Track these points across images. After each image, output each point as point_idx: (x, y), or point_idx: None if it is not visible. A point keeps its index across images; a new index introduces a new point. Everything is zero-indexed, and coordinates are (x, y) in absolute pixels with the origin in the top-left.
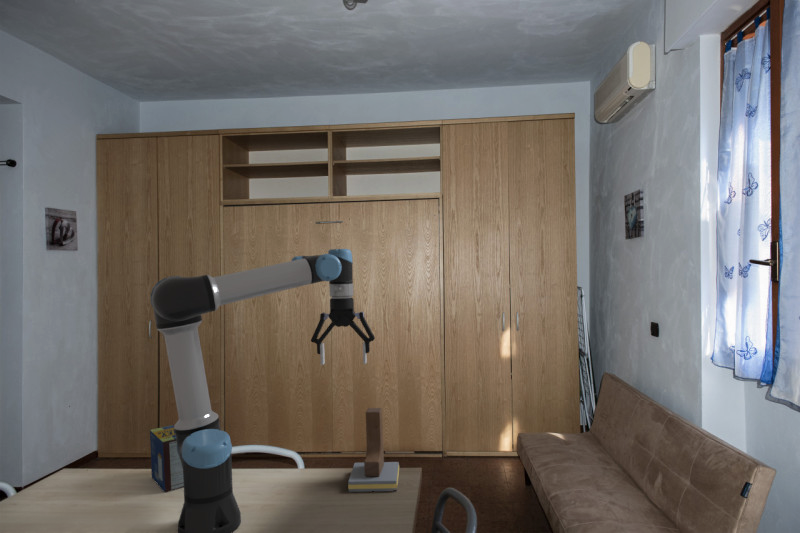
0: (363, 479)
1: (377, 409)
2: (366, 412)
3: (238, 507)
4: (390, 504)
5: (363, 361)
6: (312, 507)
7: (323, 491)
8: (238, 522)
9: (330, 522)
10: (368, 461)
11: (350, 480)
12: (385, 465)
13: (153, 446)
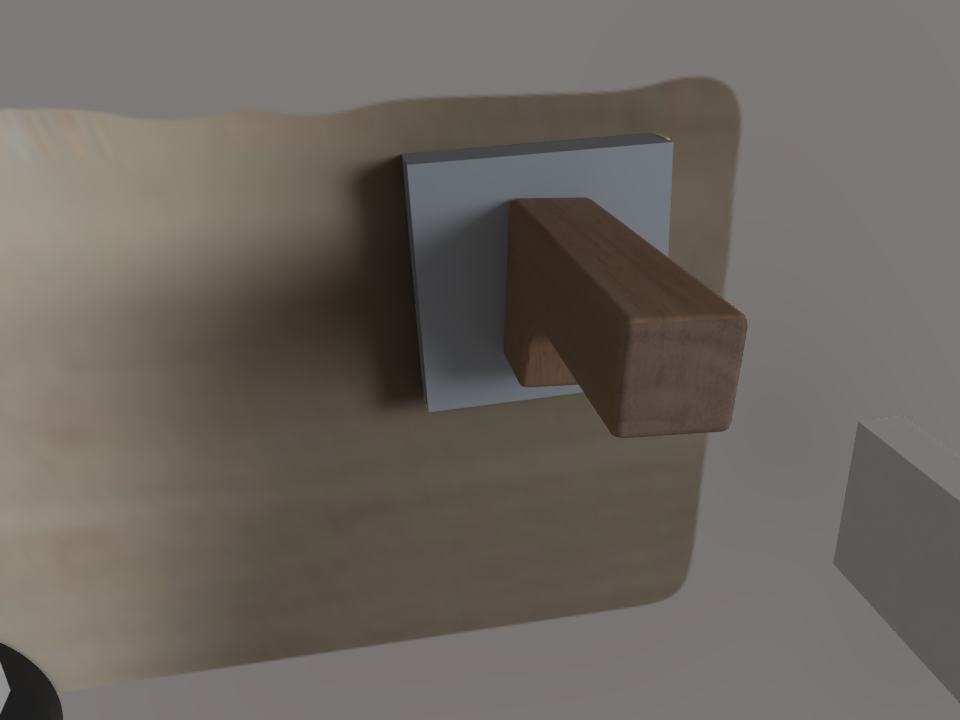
0: (501, 383)
1: (713, 369)
2: (619, 436)
3: (11, 710)
4: (621, 472)
5: (868, 594)
6: (298, 533)
7: (294, 395)
8: (55, 714)
9: (410, 617)
10: (544, 384)
11: (436, 400)
12: (599, 200)
13: None
